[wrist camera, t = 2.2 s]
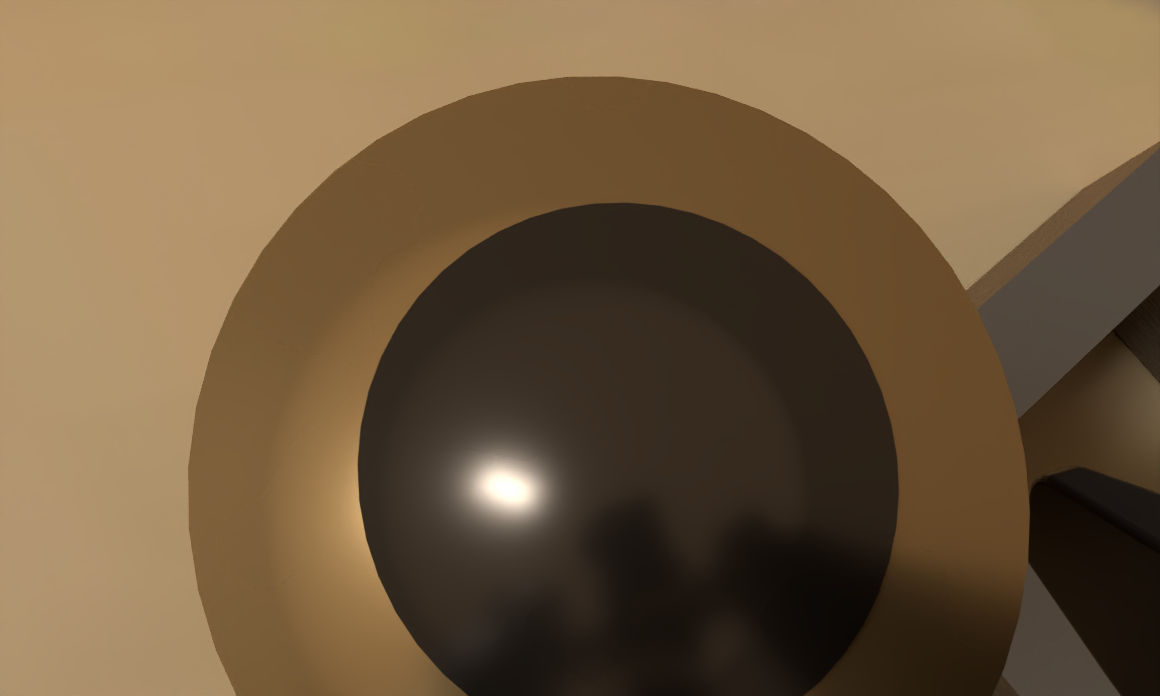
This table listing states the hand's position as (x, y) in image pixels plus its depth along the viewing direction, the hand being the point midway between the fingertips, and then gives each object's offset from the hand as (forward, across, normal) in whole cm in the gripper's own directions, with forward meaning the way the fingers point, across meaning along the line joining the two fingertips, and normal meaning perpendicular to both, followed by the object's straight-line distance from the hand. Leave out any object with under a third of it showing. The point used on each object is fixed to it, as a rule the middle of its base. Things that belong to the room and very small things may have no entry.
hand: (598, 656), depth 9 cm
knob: (+7, 0, +6) cm, 9 cm away
